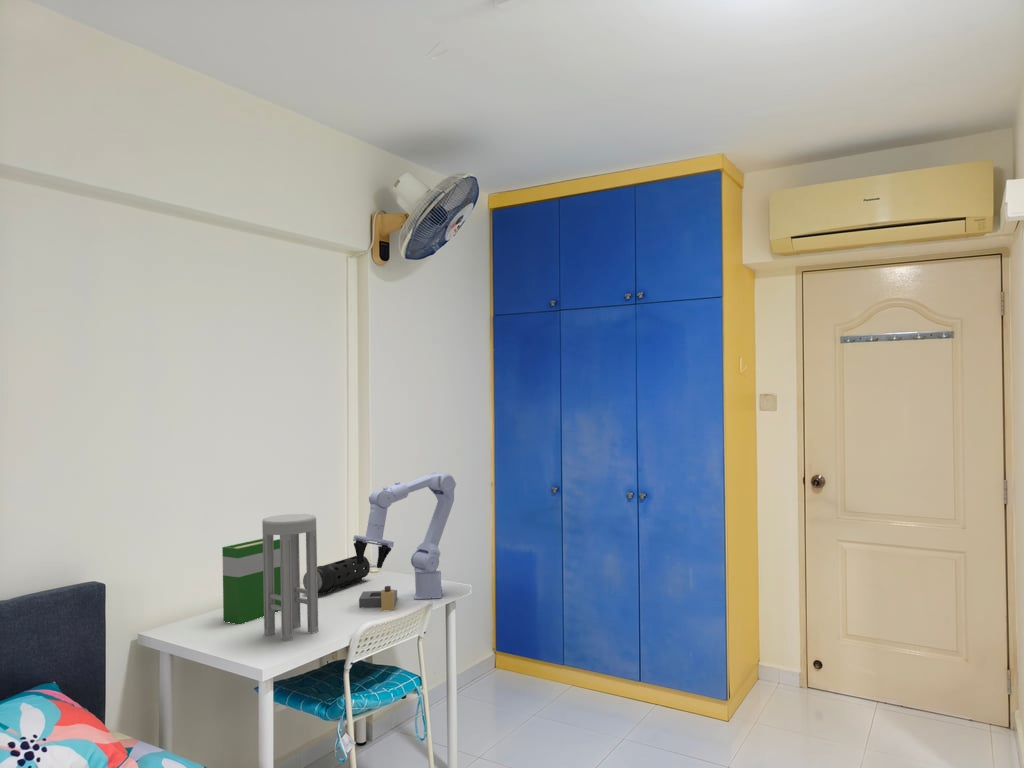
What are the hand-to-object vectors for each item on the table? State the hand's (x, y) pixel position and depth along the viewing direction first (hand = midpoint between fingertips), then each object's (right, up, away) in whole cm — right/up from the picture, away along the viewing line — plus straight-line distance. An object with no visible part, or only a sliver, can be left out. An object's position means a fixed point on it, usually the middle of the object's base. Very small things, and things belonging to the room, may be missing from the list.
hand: (369, 566), depth 247 cm
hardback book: (-37, -16, -5) cm, 41 cm away
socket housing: (+2, -15, +7) cm, 16 cm away
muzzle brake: (-18, -16, +30) cm, 38 cm away
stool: (-19, -14, -25) cm, 34 cm away
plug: (+7, -14, -1) cm, 16 cm away
